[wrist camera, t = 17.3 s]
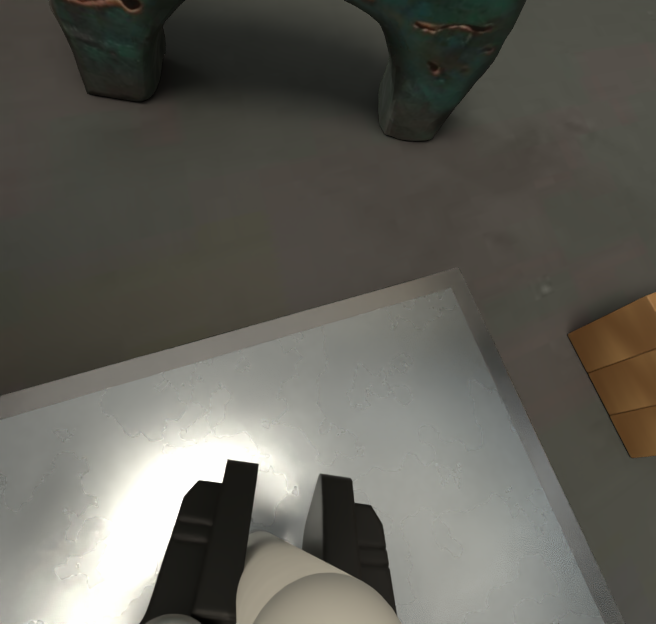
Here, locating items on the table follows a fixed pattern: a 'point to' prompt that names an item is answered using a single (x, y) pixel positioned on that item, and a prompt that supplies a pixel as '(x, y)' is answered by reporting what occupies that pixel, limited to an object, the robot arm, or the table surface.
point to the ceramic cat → (380, 3)
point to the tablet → (299, 463)
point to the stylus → (302, 589)
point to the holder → (625, 370)
